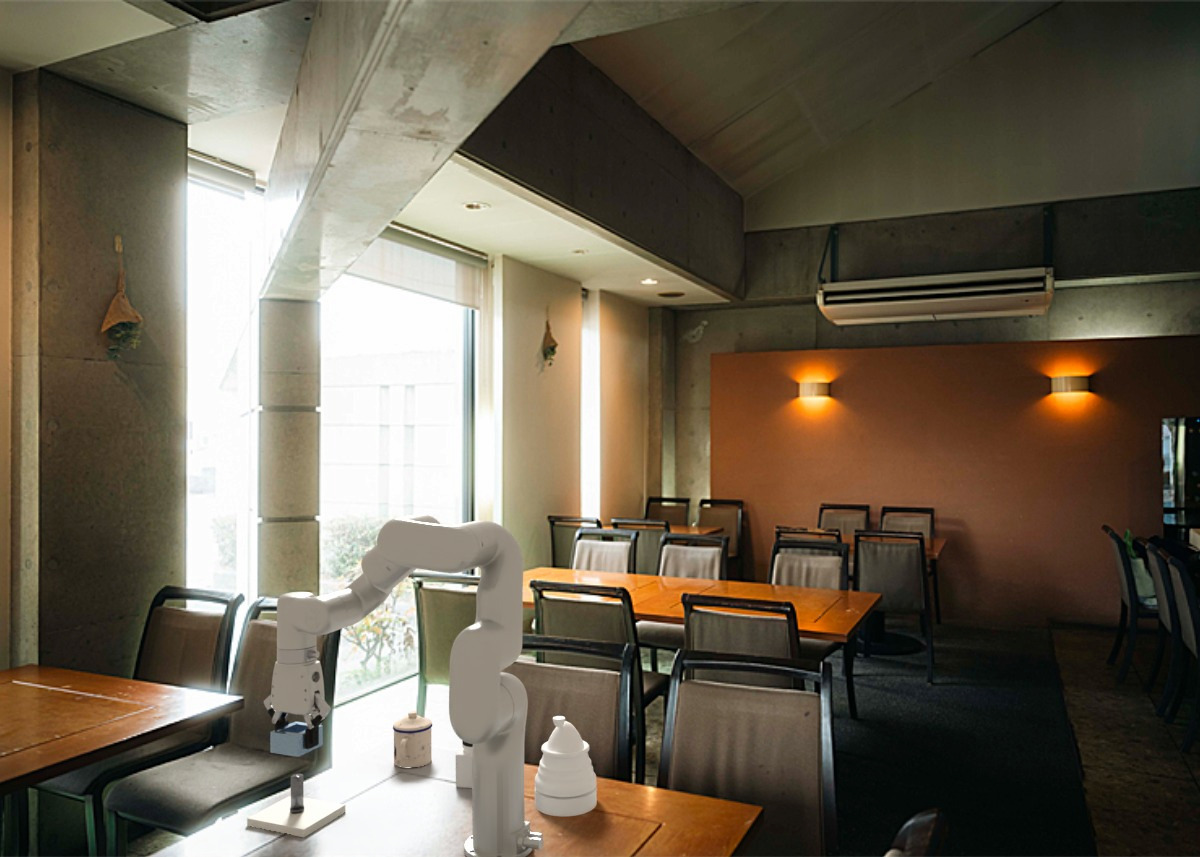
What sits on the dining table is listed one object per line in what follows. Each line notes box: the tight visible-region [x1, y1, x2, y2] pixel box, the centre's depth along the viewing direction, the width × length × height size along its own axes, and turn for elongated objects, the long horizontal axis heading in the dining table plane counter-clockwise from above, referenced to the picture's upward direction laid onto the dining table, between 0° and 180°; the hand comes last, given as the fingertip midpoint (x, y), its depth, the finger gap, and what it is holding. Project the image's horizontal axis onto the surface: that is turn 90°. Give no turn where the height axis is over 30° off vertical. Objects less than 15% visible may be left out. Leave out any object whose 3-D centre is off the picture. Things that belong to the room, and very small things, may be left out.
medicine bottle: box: [455, 740, 473, 789], centre depth 187 cm, size 7×7×12 cm
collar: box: [269, 721, 324, 758], centre depth 169 cm, size 7×7×4 cm
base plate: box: [246, 794, 346, 838], centre depth 169 cm, size 14×12×2 cm
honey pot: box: [534, 715, 598, 817], centre depth 176 cm, size 13×13×18 cm
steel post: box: [290, 773, 305, 814], centre depth 169 cm, size 3×3×7 cm
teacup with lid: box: [392, 711, 433, 768], centre depth 198 cm, size 12×9×12 cm
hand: (296, 743), depth 169 cm, fingers closed on collar, 7 cm apart
